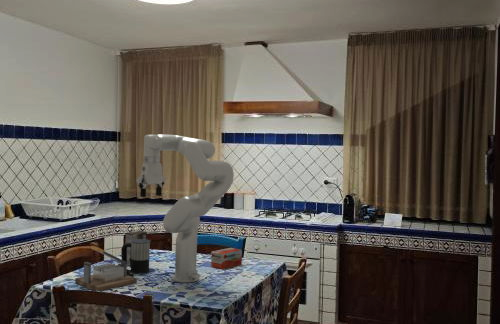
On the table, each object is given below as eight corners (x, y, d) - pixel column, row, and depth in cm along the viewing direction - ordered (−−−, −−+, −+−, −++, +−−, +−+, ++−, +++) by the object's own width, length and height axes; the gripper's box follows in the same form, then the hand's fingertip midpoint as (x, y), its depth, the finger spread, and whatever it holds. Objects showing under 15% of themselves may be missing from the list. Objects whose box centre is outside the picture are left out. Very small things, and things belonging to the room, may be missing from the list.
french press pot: (139, 261, 255) (139, 230, 255) (146, 263, 251) (147, 231, 251) (124, 264, 248) (125, 232, 248) (132, 266, 244) (132, 234, 244)
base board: (136, 283, 215) (136, 278, 215) (97, 291, 201) (97, 287, 201) (113, 275, 227) (114, 270, 227) (75, 282, 213) (75, 278, 213)
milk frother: (150, 268, 240) (151, 238, 240) (149, 277, 225) (149, 245, 224) (120, 269, 238) (120, 238, 237) (117, 278, 222) (117, 245, 222)
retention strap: (119, 262, 222) (120, 259, 222) (126, 264, 218) (127, 262, 218) (90, 248, 211) (91, 245, 211) (97, 250, 207) (98, 247, 207)
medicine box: (230, 262, 259) (230, 247, 259) (242, 264, 254) (242, 249, 254) (210, 267, 248) (210, 251, 247) (222, 270, 242) (222, 253, 242)
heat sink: (130, 277, 217) (130, 258, 217) (92, 284, 203) (92, 265, 203) (117, 272, 224) (118, 254, 223) (79, 280, 210) (80, 260, 210)
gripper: (142, 160, 226) (142, 198, 227) (170, 160, 240) (169, 195, 241) (132, 160, 231) (131, 196, 231) (160, 160, 245) (159, 194, 245)
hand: (150, 196), depth 236 cm, fingers open, 9 cm apart
